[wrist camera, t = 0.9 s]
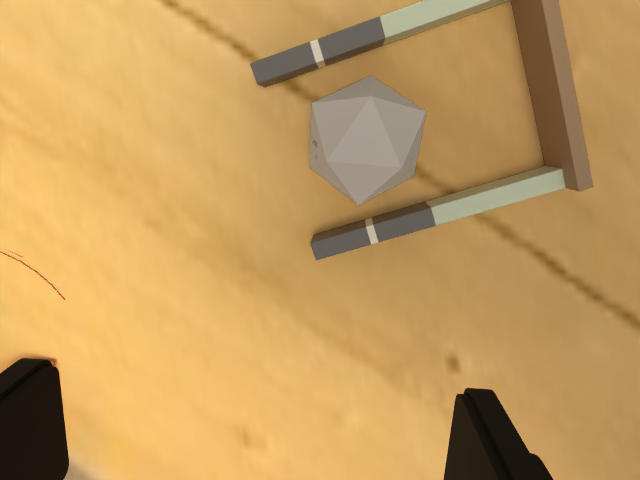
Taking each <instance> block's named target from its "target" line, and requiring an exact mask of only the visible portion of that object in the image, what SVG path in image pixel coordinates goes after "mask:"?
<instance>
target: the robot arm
mask: <svg viewBox="0 0 640 480" xmlns="http://www.w3.org/2000/svg"><path fill="white" fill-rule="evenodd" d="M68 466H69V458H68V449H67V440H66V431H65V422H64V413H63V405H62V396H61V387H60V378H59V371H58V369H57V368H56V367H53V364H52V363H51V361H49V360H42V359H27V358H24V359H20V360H18V361H17V362H15V363H14V364H13V365H11V366H10V367H9V368H7V369H6V370H4V371H3V372H2V373H0V480H63V479H64V478H65V476H66V474H67V471H68ZM444 480H553V478H552V477H551V475H550V473H549V472H548V470H547V469H546V467H545V465H544V464H543V462H542V461H541V459H540V458H539V457H538V456H537V455H535V454H531V453H529V451H528V449H527V448H526V446H525V444H524V442H523V441H522V439H521V437H520V436H519V434H518V432H517V430H516V429H515V427H514V425H513V424H512V422H511V420H510V418H509V417H508V415H507V413H506V412H505V410H504V408H503V406H502V405H501V403H500V401H499V400H498V398H497V396H496V395H495V393H494V392H493V390H489V389H475V388H466V389H465V391H464V394H457V396H456V399H455V406H454V413H453V420H452V426H451V433H450V440H449V447H448V454H447V460H446V467H445V474H444Z"/></svg>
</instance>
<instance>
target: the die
mask: <svg viewBox="0 0 640 480" xmlns="http://www.w3.org/2000/svg"><path fill="white" fill-rule="evenodd" d="M425 116H426V112H425V111H424V110H422V109H421V108H419V107H418V106H416V105H415V104H413V103H412V102H410V101H409V100H407V99H406V98H404V97H403V96H401V95H400V94H398V93H397V92H395V91H394V90H392V89H391V88H389V87H388V86H386V85H385V84H383V83H382V82H380V81H379V80H377V79H376V78H374V77H373V76H369V77H367V78H365V79H362V80H360V81H358V82H356V83H354V84H352V85H349V86H347V87H345V88H343V89H341V90H339V91H336V92H334V93H332V94H330V95H328V96H326V97H323V98H321V99H319V100H317V101H315V102H313V103H312V104H311V131H310V158H309V167H310V168H311V169H312V170H313V171H315V172H316V173H317V174H319V175H320V176H321V177H322V178H324V179H325V180H326V181H328V182H329V183H330V184H332V185H333V186H334V187H335V188H337V189H338V190H339V191H341V192H342V193H343V194H345V195H346V196H347V197H348V198H350V199H351V200H352V201H354V202H355V203H356V204H357V205H360V204H362V203H364V202H366V201H368V200H370V199H372V198H373V197H375V196H377V195H379V194H381V193H383V192H385V191H387V190H389V189H391V188H393V187H394V186H396V185H398V184H400V183H402V182H404V181H406V180H408V179H410V178H412V177H414V174H415V169H416V163H417V158H418V153H419V147H420V142H421V137H422V132H423V126H424V121H425Z"/></svg>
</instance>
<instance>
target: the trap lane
mask: <svg viewBox="0 0 640 480" xmlns="http://www.w3.org/2000/svg"><path fill="white" fill-rule="evenodd" d="M507 1H510V0H423V1H421V2H418V3H415V4H412V5H410V6H407V7H404V8H401V9H399V10H396V11H393V12H390V13H388V14H385V15H382V16H379V17H377V18H374V19H371V20H368V21H366V22H363V23H360V24H358V25H355V26H352V27H349V28H347V29H344V30H341V31H338V32H336V33H333V34H330V35H327V36H325V37H322V38H319V39H316V40H314V41H311V42H308V43H305V44H303V45H300V46H297V47H294V48H292V49H289V50H286V51H283V52H281V53H278V54H275V55H272V56H270V57H267V58H264V59H261V60H259V61H256V62H253V63H251V67H252V70H253V73H254V76H255V79H256V82H257V84H259V85H261V86H263V87H267V86H270V85H273V84H276V83H279V82H282V81H284V80H287V79H290V78H293V77H296V76H299V75H301V74H304V73H307V72H310V71H313V70H315V69H318V68H321V67H324V66H327V65H330V64H332V63H335V62H338V61H341V60H344V59H346V58H349V57H352V56H355V55H358V54H361V53H363V52H366V51H369V50H372V49H375V48H378V47H380V46H383V45H386V44H389V43H392V42H394V41H397V40H400V39H403V38H406V37H409V36H411V35H414V34H417V33H420V32H423V31H425V30H428V29H431V28H434V27H437V26H440V25H442V24H445V23H448V22H451V21H454V20H457V19H459V18H462V17H465V16H468V15H471V14H473V13H476V12H479V11H482V10H485V9H488V8H490V7H493V6H496V5H499V4H502V3H504V2H507ZM511 4H512V8H513V13H514V18H515V23H516V28H517V33H518V37H519V42H520V47H521V52H522V57H523V61H524V66H525V71H526V76H527V81H528V85H529V90H530V95H531V100H532V105H533V109H534V114H535V119H536V124H537V129H538V134H539V138H540V143H541V148H542V153H543V158H544V162H545V166H543V167H540V168H536V169H533V170H530V171H526V172H523V173H519V174H516V175H513V176H509V177H506V178H503V179H499V180H496V181H493V182H489V183H486V184H483V185H479V186H476V187H473V188H469V189H466V190H463V191H459V192H456V193H453V194H449V195H446V196H443V197H439V198H436V199H432V200H429V201H426V202H422V203H419V204H416V205H412V206H409V207H406V208H402V209H399V210H396V211H392V212H389V213H386V214H382V215H379V216H376V217H372V218H369V219H366V220H362V221H359V222H355V223H352V224H349V225H345V226H342V227H339V228H335V229H332V230H329V231H325V232H322V233H319V234H315V235H313V238H312V241H311V243H310V244H311V247H312V249H313V252H314V255H315V258H316V260H319V259H322V258H326V257H329V256H333V255H336V254H340V253H343V252H346V251H350V250H353V249H357V248H360V247H364V246H367V245H371V244H374V243H378V242H381V241H384V240H388V239H391V238H395V237H398V236H402V235H405V234H409V233H412V232H415V231H419V230H422V229H426V228H429V227H433V226H436V225H440V224H443V223H447V222H450V221H453V220H457V219H460V218H464V217H467V216H471V215H474V214H478V213H481V212H484V211H488V210H491V209H495V208H498V207H502V206H505V205H509V204H512V203H515V202H519V201H522V200H526V199H529V198H533V197H536V196H540V195H543V194H547V193H550V192H553V191H557V190H560V189H564V188H568V189H572V190H576V191H582V190H585V189H589V188H592V187H593V182H592V177H591V172H590V166H589V161H588V156H587V150H586V145H585V139H584V134H583V129H582V123H581V118H580V113H579V107H578V102H577V97H576V91H575V86H574V80H573V75H572V70H571V64H570V59H569V54H568V48H567V43H566V38H565V32H564V27H563V21H562V16H561V11H560V5H559V0H511Z"/></svg>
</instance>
